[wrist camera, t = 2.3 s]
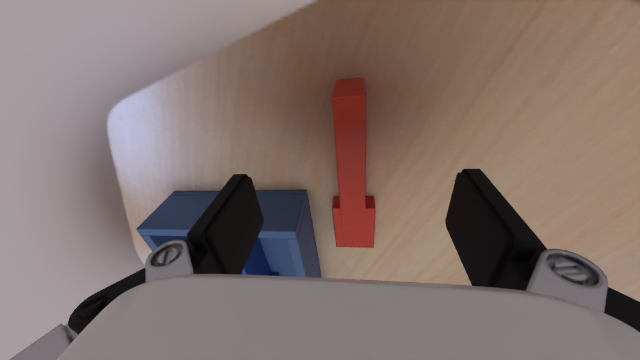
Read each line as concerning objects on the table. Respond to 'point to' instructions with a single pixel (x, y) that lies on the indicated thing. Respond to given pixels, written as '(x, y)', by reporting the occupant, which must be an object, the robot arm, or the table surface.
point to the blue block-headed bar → (258, 262)
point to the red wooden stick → (351, 167)
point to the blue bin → (275, 236)
